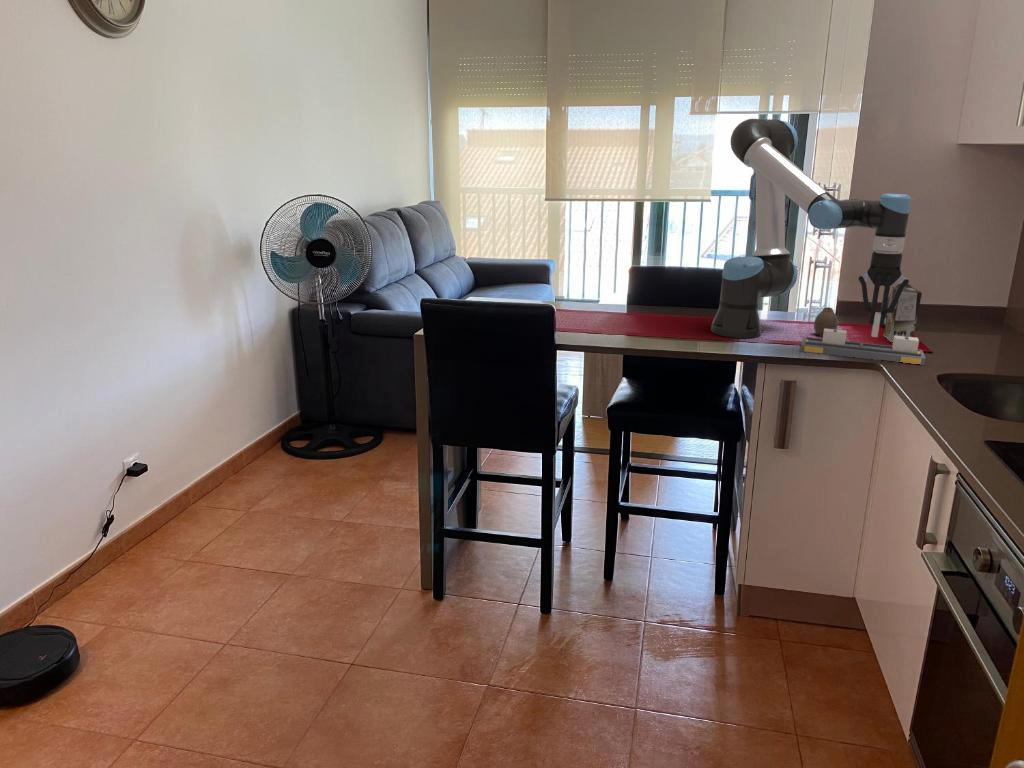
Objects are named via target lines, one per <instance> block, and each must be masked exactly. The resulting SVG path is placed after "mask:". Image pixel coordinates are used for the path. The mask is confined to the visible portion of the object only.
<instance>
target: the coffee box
mask: <svg viewBox="0 0 1024 768" xmlns="http://www.w3.org/2000/svg"><path fill="white" fill-rule="evenodd" d="M896 290H897V287H895V286H891V287H890V293H891V294H890V293H889V295H890V300H889V305H888V308H889V306H890V303H891V301H892V299H893V297H894V294H895V292H896ZM922 295H923V292H922V291H919V290H917V288H914V287H913V288H909V287H904V288H903V290H902V293H901V295H900V297H899V299H898V302H897V304H896V306H895V308H894V311H893V312H890V313H887V318H886V324H884V330H883V336H884V337H886V338H887V339H888V340H889V341H890V342H893V339H894V335H895V336H908V337H915V336H914V335H915V330H916V325H917V320H918V314H919V310H920V305H921V299H922ZM884 337H883V338H884ZM888 340H887V341H888ZM889 341H888V342H889ZM890 342H889V343H890Z"/></svg>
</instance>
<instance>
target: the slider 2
mask: <svg viewBox="0 0 1024 768" xmlns="http://www.w3.org/2000/svg"><path fill="white" fill-rule="evenodd" d="M919 343H920V340H919V338H918V337H916V336H914V337H908V336H895V335H894V339H893V343H892V344H891V346H892V351H900V352H909V353H917V349H919V345H920V344H919Z"/></svg>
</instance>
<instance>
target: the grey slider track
mask: <svg viewBox="0 0 1024 768" xmlns="http://www.w3.org/2000/svg"><path fill="white" fill-rule="evenodd" d="M822 340H823V338H820V337H809V336H806V337H805V336H804V337H803V336H802V340H801V344H800V352H802V353H808V354H809V353H811V354H818V355H819V354H820V355H829V356H835V357H836V356H839V357H844V356H845V357H847V358H853V357H855V358H856V359H862V358H863V359H865V360H871V359H873V360H874V361H880V360H888V361H887V362H889V361H896V362H895V363H898V362H903V363H902V364H906V363H911V364H910V365H915V364H920V365H919V366H925V365H926V364H925V363H926V361H927V360H926V359H927V357H926V355H925V353H924V351H923V349H920V348H918V349H917V353H909V352H900V351H892V345H886V344H875V343H869V342H868V343H867V342H857V341H848V340H845V345H836V344H826V343H822ZM845 357H844V358H845ZM863 359H862V360H863ZM873 360H872V361H873Z"/></svg>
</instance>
